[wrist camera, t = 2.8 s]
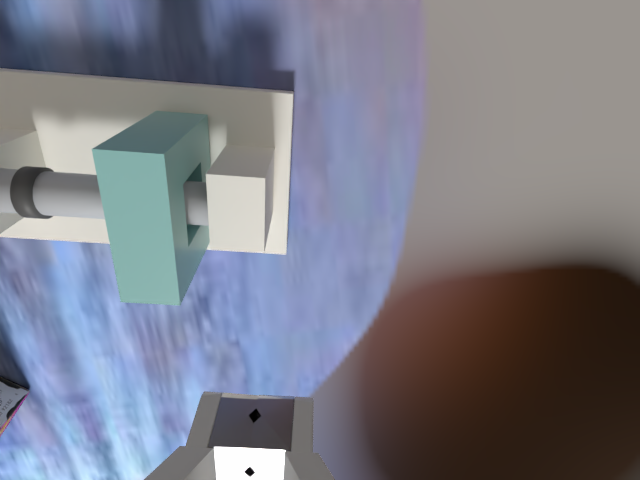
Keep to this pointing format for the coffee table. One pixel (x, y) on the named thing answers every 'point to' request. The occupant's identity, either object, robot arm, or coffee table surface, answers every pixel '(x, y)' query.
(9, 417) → the candy bar box
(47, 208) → the pipe stand
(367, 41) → the coffee table surface
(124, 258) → the collar
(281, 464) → the robot arm
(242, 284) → the coffee table surface
